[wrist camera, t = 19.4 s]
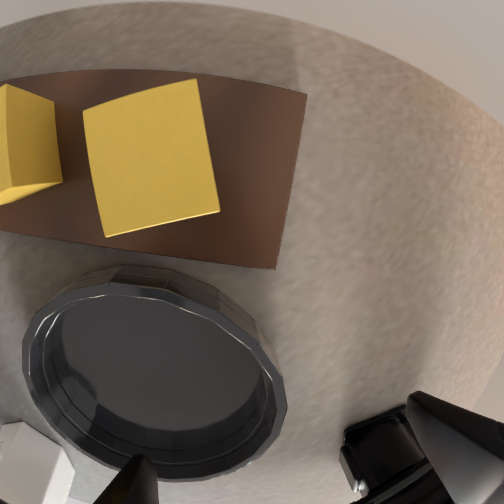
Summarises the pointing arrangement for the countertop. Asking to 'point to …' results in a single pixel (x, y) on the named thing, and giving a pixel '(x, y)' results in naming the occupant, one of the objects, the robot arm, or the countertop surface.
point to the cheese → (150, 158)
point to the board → (222, 157)
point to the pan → (154, 373)
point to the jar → (32, 467)
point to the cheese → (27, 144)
